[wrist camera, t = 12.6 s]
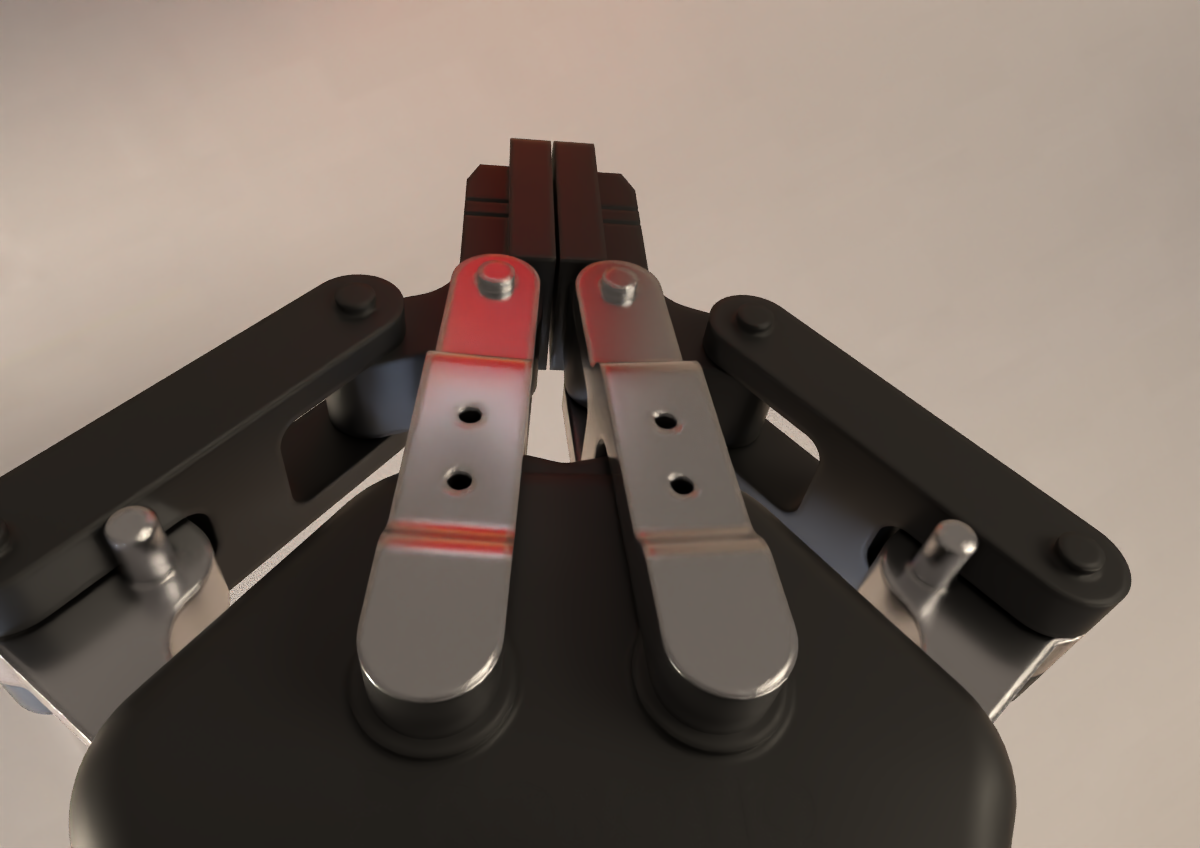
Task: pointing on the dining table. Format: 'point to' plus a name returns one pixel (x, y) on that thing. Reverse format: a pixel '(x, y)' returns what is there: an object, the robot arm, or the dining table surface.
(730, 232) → the dining table surface
